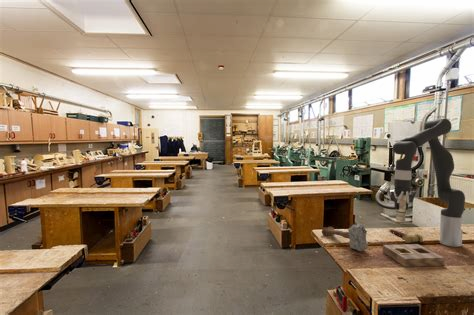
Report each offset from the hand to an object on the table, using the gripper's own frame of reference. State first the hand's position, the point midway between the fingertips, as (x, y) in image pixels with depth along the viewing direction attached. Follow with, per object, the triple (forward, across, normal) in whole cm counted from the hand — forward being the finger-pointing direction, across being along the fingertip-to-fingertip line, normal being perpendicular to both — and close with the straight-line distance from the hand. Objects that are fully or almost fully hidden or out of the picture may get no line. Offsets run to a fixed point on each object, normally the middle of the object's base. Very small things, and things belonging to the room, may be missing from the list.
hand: (401, 209), depth 129 cm
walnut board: (+24, -2, +7) cm, 25 cm away
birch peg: (+6, 0, 0) cm, 6 cm away
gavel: (+24, -18, -22) cm, 38 cm away
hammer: (+25, +24, -14) cm, 37 cm away
